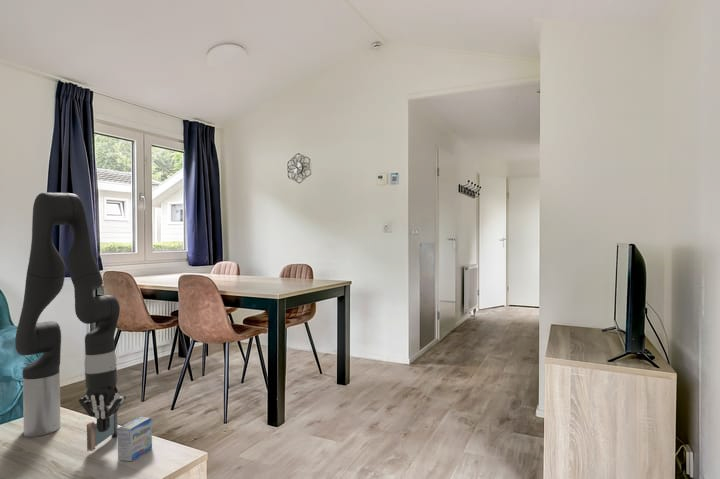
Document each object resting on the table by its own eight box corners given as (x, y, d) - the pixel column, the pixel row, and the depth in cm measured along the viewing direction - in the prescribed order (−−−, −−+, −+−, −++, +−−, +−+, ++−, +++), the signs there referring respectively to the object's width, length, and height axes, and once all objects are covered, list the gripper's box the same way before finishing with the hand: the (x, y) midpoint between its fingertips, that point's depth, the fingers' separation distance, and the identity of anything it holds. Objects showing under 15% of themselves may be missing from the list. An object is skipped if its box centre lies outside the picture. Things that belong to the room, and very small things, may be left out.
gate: (109, 434, 130) (109, 409, 130) (114, 434, 130) (113, 409, 130) (87, 450, 120) (86, 423, 120) (92, 451, 120) (91, 423, 120)
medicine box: (131, 462, 116) (130, 429, 116) (117, 460, 117) (116, 427, 117) (152, 448, 123) (152, 417, 123) (139, 446, 124) (138, 415, 124)
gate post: (110, 436, 131) (109, 406, 131) (115, 434, 132) (115, 404, 132) (113, 438, 130) (113, 407, 130) (118, 435, 131) (118, 405, 131)
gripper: (68, 372, 119) (71, 436, 119) (113, 372, 117) (116, 437, 117) (88, 364, 126) (91, 425, 126) (131, 364, 125) (134, 425, 125)
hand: (103, 430), depth 122 cm, fingers closed
